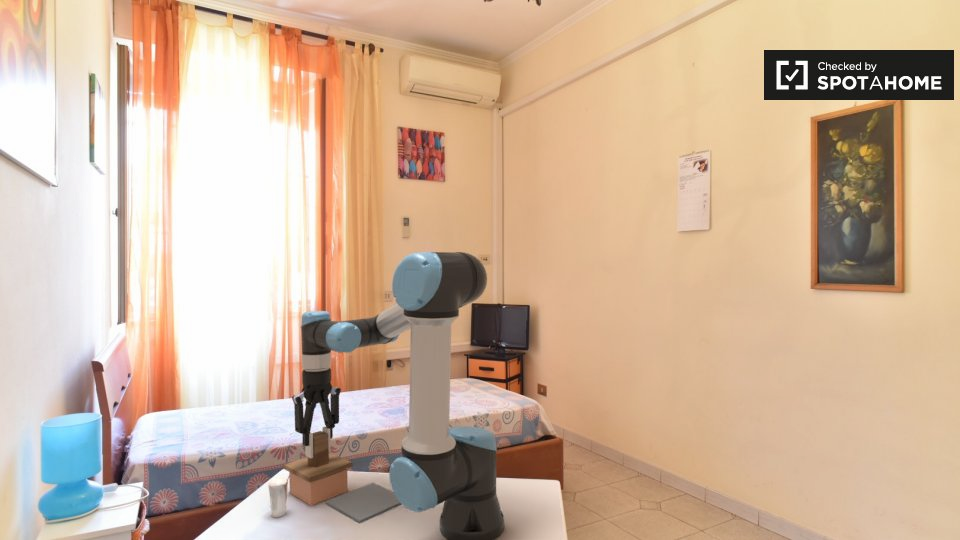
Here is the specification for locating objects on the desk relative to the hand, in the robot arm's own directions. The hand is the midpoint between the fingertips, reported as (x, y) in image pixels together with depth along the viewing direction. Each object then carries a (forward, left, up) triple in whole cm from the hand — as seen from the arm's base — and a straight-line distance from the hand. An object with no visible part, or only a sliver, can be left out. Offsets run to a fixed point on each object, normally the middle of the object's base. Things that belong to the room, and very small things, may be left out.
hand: (318, 453), depth 142 cm
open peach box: (0, 0, -10) cm, 10 cm away
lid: (0, 0, -4) cm, 4 cm away
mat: (-15, -5, -10) cm, 19 cm away
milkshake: (-4, +13, -11) cm, 17 cm away
